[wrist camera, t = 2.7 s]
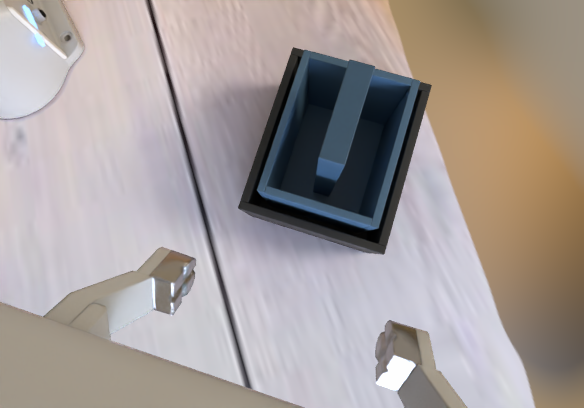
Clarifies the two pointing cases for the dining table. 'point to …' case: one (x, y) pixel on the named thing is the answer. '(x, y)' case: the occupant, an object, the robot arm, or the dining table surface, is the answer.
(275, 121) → the tote
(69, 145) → the dining table surface
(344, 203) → the caddy
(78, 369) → the robot arm
